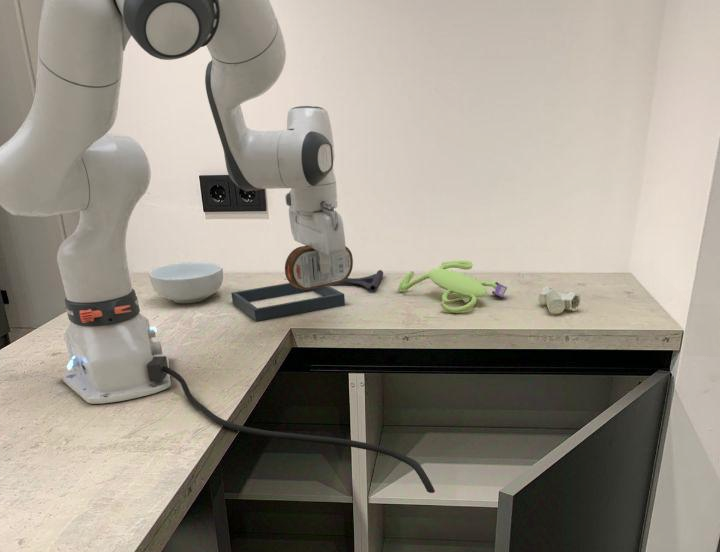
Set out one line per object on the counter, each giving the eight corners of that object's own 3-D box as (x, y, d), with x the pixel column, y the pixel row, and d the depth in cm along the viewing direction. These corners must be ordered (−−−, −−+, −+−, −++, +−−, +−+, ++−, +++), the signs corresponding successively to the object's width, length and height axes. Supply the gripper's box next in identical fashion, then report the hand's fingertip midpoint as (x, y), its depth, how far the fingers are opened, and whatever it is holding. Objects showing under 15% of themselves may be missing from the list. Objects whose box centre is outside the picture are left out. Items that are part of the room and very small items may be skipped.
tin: (349, 278, 156) (345, 237, 152) (357, 280, 153) (353, 238, 150) (286, 292, 149) (281, 249, 145) (294, 294, 146) (288, 251, 143)
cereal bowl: (174, 313, 165) (168, 282, 162) (142, 300, 176) (137, 270, 173) (239, 297, 174) (235, 267, 171) (205, 286, 185) (201, 257, 182)
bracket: (325, 277, 187) (324, 266, 185) (383, 276, 185) (382, 265, 183) (314, 293, 174) (313, 281, 173) (376, 292, 172) (376, 280, 171)
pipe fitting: (559, 319, 149) (580, 309, 152) (560, 300, 147) (581, 290, 150) (528, 311, 154) (548, 302, 157) (528, 293, 152) (549, 284, 155)
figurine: (457, 277, 180) (458, 254, 177) (524, 301, 159) (526, 275, 156) (391, 289, 173) (390, 265, 171) (452, 316, 152) (452, 289, 150)
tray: (345, 304, 164) (344, 293, 163) (255, 321, 157) (254, 309, 156) (315, 288, 178) (315, 278, 177) (232, 303, 170) (231, 292, 169)
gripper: (351, 203, 136) (355, 278, 143) (310, 191, 152) (315, 259, 159) (319, 207, 134) (325, 283, 140) (281, 195, 150) (288, 263, 157)
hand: (320, 270), depth 150 cm, fingers closed on tin, 3 cm apart
